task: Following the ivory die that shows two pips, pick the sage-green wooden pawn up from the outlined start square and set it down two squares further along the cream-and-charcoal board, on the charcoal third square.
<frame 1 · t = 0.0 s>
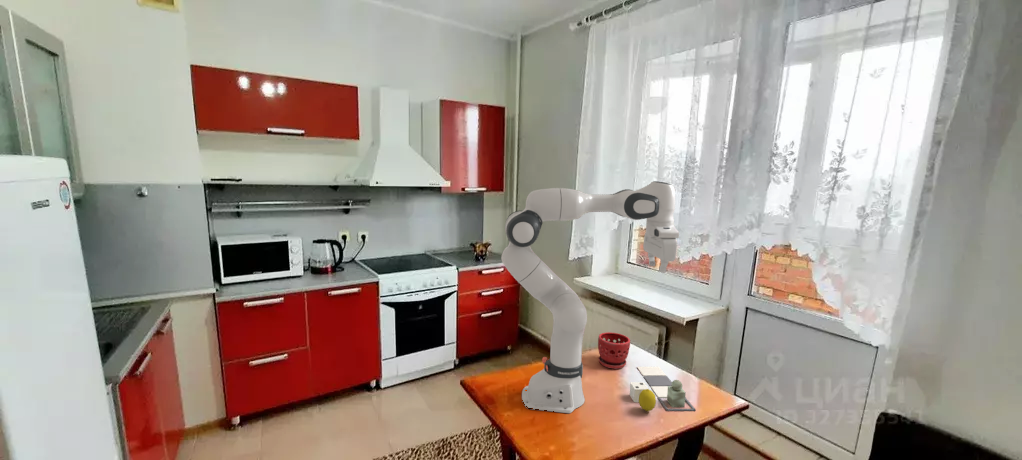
hand: (657, 268, 141), 48 cm above the table, fingers open, 8 cm apart
lemon: (646, 411, 140), on the table
pawn: (675, 403, 144), resting on board
die: (638, 398, 147), on the table
plant pot: (612, 364, 174), on the table
board: (662, 386, 156), on the table
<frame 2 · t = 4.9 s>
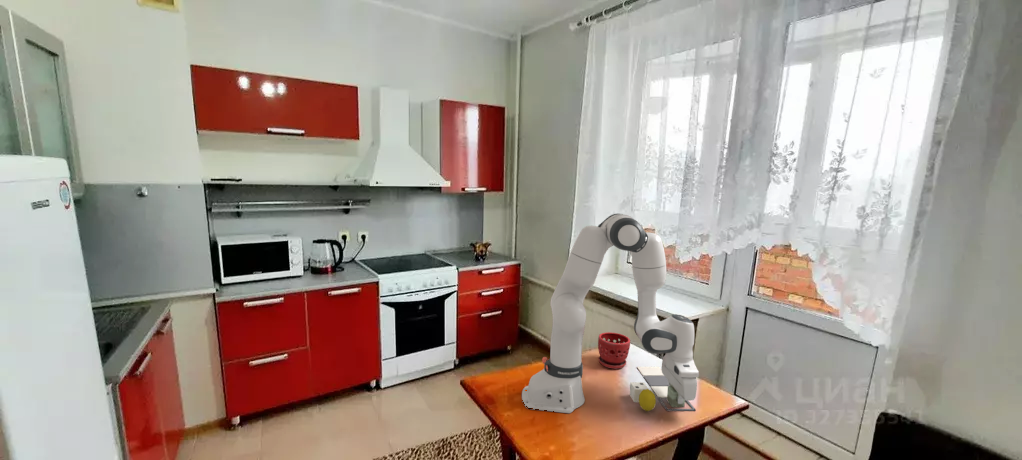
hand: (675, 398, 144), 2 cm above the table, fingers closed on pawn, 4 cm apart
pawn: (675, 403, 144), resting on board, touching gripper
everything else where it was.
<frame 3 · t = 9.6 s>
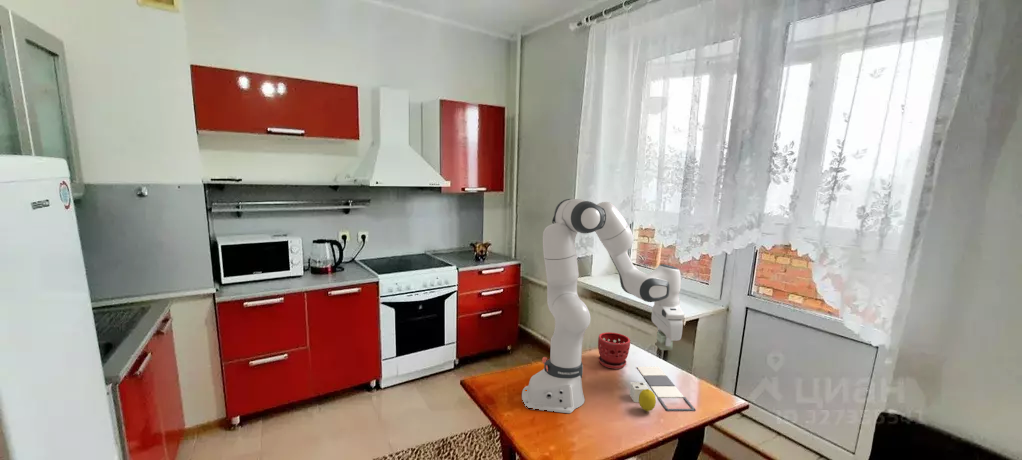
hand: (664, 342, 155), 17 cm above the table, fingers closed on pawn, 4 cm apart
pawn: (664, 347, 155), point 15 cm above the table, touching gripper
everything else where it was.
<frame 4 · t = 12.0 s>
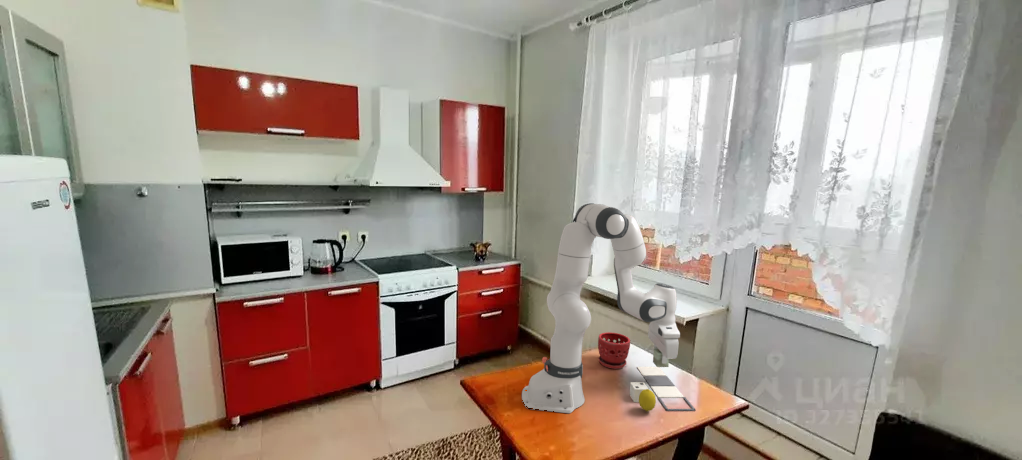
hand: (660, 359, 158), 9 cm above the table, fingers closed on pawn, 4 cm apart
pawn: (660, 364, 159), point 7 cm above the table, touching gripper
everything else where it was.
when the fingers open (3 cm above the table, at t = 14.2 s): pawn stays where it is, resting on board.
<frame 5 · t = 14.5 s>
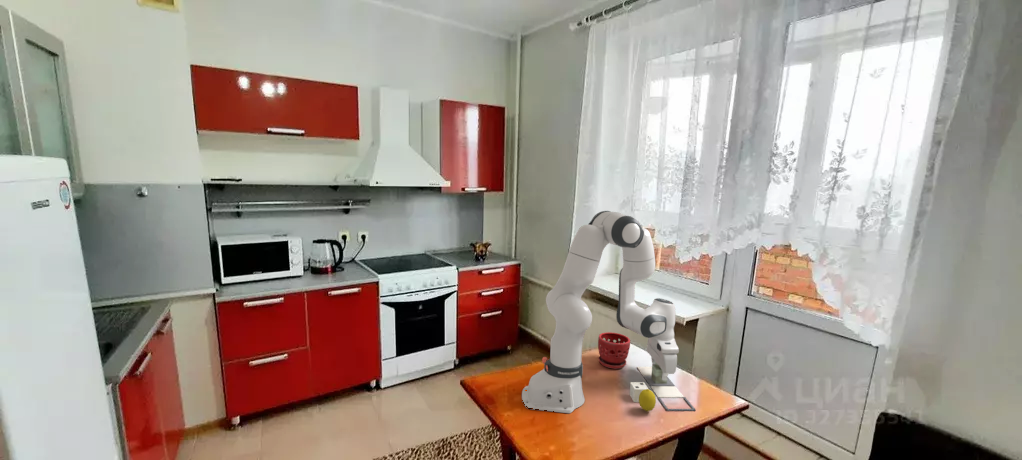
hand: (659, 373, 159), 3 cm above the table, fingers open, 8 cm apart
pawn: (658, 380, 160), resting on board
everything else where it was.
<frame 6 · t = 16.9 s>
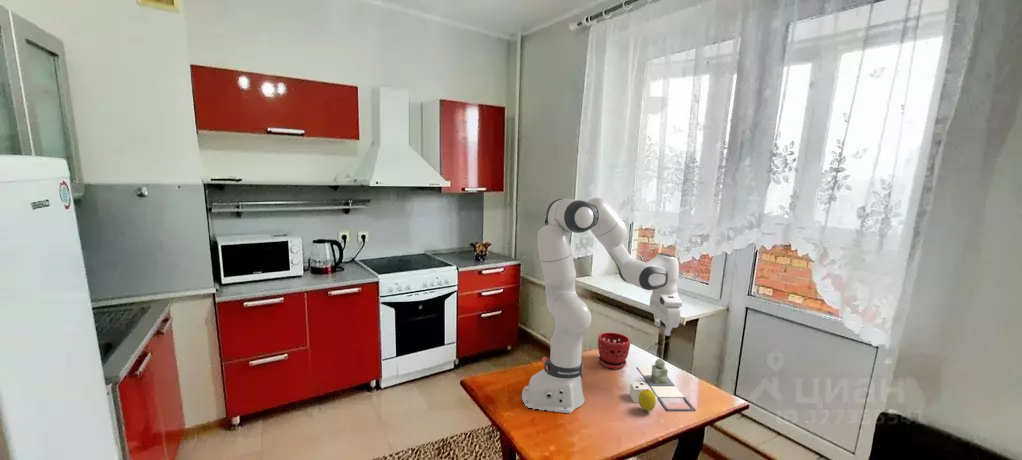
hand: (662, 330, 157), 21 cm above the table, fingers open, 8 cm apart
nothing on the table moved.
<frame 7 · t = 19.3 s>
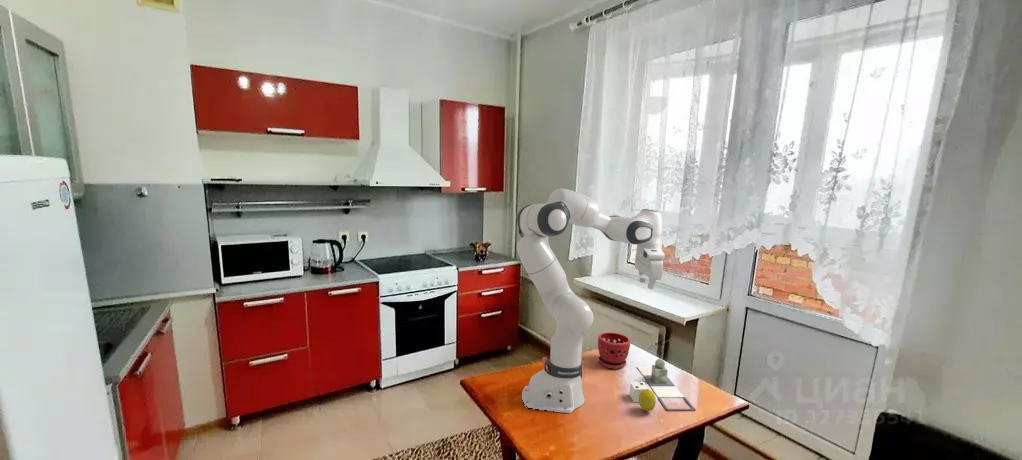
hand: (646, 285, 160), 37 cm above the table, fingers open, 8 cm apart
nothing on the table moved.
at the end: pawn 0.0 cm from the target spot, resting on board; pawn tilted 0°; the gripper is holding nothing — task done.
